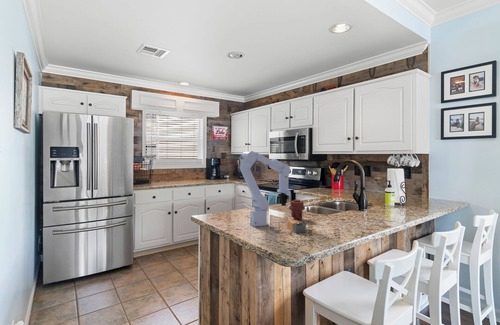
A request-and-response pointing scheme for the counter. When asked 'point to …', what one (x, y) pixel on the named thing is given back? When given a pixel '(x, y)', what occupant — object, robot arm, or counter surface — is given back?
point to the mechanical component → (296, 209)
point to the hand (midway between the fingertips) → (283, 205)
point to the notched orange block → (291, 224)
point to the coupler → (299, 227)
